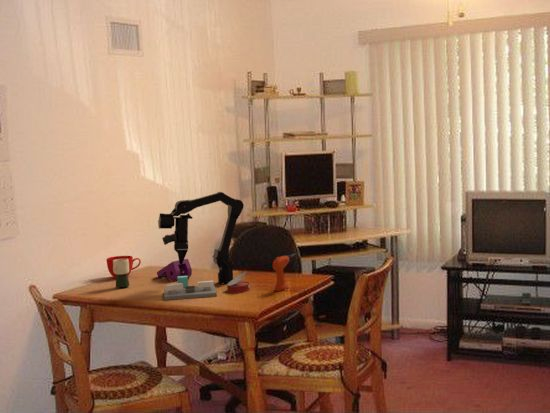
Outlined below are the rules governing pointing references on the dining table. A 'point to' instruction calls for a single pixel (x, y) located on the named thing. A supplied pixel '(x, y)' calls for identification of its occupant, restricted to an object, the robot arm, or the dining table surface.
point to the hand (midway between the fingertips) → (180, 262)
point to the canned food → (238, 285)
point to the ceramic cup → (130, 258)
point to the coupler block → (183, 280)
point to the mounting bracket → (176, 270)
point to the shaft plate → (190, 291)
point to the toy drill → (281, 271)
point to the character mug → (121, 272)
